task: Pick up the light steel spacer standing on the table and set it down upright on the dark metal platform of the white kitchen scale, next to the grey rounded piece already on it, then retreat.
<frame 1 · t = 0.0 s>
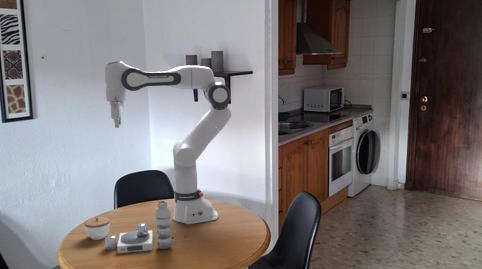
hand: (118, 126, 199), 48 cm above the table, fingers open, 8 cm apart
kitchen scale: (135, 244, 182), on the table
plastic bottle: (164, 248, 179), on the table
lidded jar: (98, 237, 191), on the table
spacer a: (111, 247, 179), on the table
grey rounded piece: (142, 235, 182), point 4 cm above the table, touching kitchen scale
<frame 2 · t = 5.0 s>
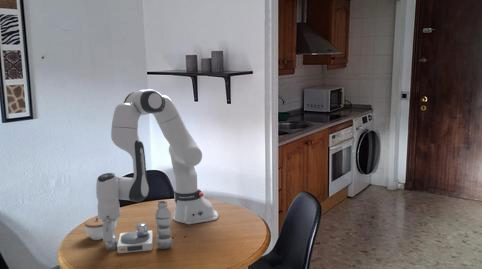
hand: (111, 243, 179), 2 cm above the table, fingers closed on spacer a, 5 cm apart
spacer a: (111, 247, 179), on the table, touching gripper
everything else where it was.
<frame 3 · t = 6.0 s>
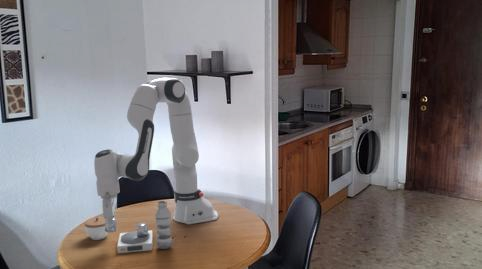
hand: (111, 220, 177), 12 cm above the table, fingers closed on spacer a, 5 cm apart
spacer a: (110, 230, 178), point 8 cm above the table, tilted 5°, touching gripper
everything else where it was.
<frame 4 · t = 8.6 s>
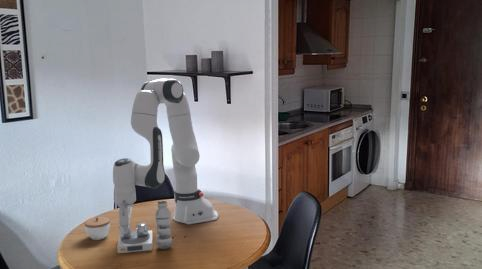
hand: (126, 228, 180), 8 cm above the table, fingers closed on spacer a, 5 cm apart
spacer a: (125, 237, 181), point 4 cm above the table, touching gripper, kitchen scale
everything else where it was.
when the fingers open (6 cm above the table, at t = 9.7 s): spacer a stays where it is, resting on kitchen scale.
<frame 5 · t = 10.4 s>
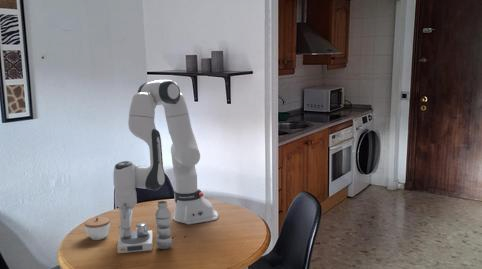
hand: (127, 231, 180), 6 cm above the table, fingers open, 8 cm apart
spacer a: (125, 237, 181), point 4 cm above the table, touching kitchen scale
everything else where it was.
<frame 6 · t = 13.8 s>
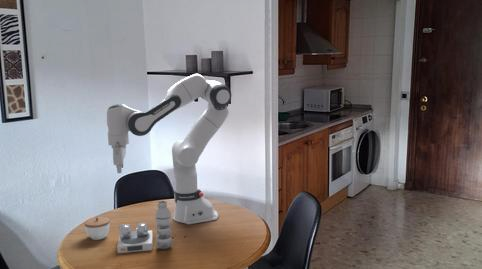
hand: (120, 170, 192), 29 cm above the table, fingers open, 8 cm apart
nothing on the table moved.
at the end: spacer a inside the target area on the kitchen scale (4.0 cm from its centre), point 3.8 cm above the kitchen scale's base; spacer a tilted 0°; the gripper is holding nothing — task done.
